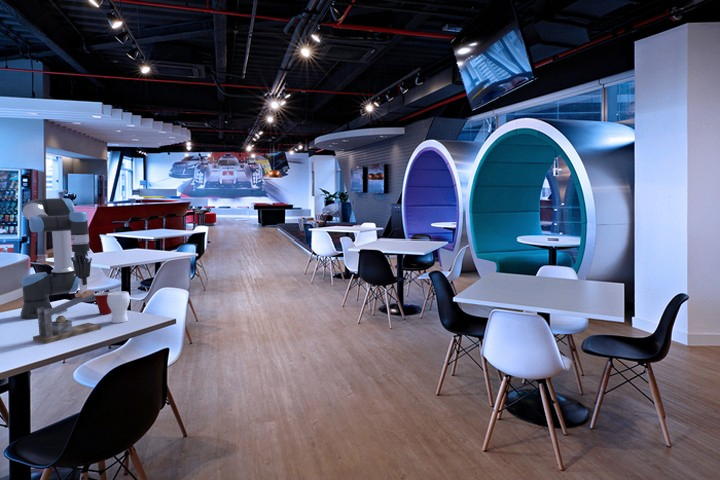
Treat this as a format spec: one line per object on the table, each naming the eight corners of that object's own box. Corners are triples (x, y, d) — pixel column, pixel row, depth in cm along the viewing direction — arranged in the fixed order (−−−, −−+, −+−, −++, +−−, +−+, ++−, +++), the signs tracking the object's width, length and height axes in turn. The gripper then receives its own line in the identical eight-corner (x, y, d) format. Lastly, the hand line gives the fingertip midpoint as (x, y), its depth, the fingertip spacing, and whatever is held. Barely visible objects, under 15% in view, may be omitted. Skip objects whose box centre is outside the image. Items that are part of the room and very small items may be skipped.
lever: (49, 319, 215) (46, 310, 213) (42, 318, 218) (39, 309, 216) (96, 298, 234) (93, 290, 233) (88, 297, 237) (86, 289, 236)
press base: (45, 343, 212) (43, 311, 210) (33, 340, 216) (30, 308, 215) (100, 329, 235) (98, 299, 233) (88, 326, 239) (86, 297, 238)
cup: (104, 322, 247) (102, 294, 246) (122, 317, 257) (120, 290, 255) (117, 324, 242) (115, 296, 241) (135, 319, 252) (133, 292, 250)
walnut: (54, 324, 222) (53, 316, 221) (62, 322, 225) (62, 314, 225) (59, 325, 220) (58, 317, 219) (68, 323, 223) (67, 315, 223)
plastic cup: (111, 310, 273) (110, 289, 272) (119, 312, 267) (118, 292, 265) (91, 313, 265) (90, 292, 264) (99, 316, 258) (98, 295, 257)
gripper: (64, 243, 229) (67, 291, 231) (80, 244, 223) (84, 293, 225) (79, 242, 235) (83, 288, 238) (96, 243, 229) (99, 290, 232)
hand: (83, 291), depth 231 cm, fingers closed
